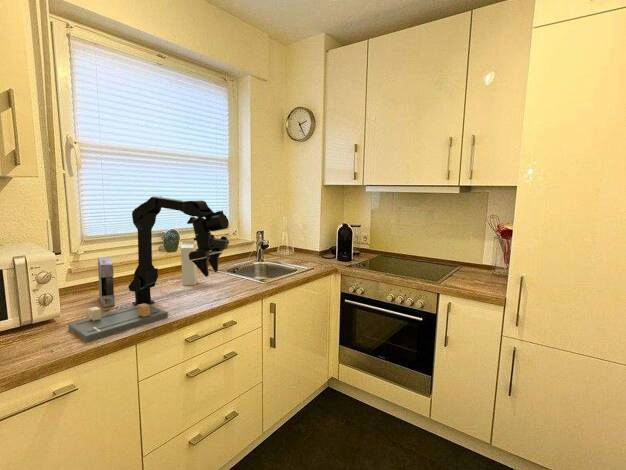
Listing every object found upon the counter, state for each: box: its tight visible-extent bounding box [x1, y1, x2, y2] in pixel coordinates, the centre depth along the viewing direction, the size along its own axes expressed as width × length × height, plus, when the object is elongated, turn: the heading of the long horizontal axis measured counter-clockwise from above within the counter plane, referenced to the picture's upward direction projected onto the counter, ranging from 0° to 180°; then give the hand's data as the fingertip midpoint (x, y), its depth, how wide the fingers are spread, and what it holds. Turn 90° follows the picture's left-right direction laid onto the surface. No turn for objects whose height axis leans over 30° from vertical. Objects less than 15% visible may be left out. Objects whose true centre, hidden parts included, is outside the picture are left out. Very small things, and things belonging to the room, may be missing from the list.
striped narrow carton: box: [97, 256, 116, 308], centre depth 139 cm, size 19×5×18 cm, turn 35°
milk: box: [180, 240, 199, 286], centre depth 166 cm, size 6×6×22 cm
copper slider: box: [137, 303, 151, 317], centre depth 117 cm, size 4×2×4 cm, turn 52°
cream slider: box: [87, 306, 102, 321], centre depth 114 cm, size 4×2×4 cm, turn 52°
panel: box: [67, 303, 169, 343], centre depth 116 cm, size 16×26×2 cm, turn 142°
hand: (211, 274), depth 125 cm, fingers open, 9 cm apart
